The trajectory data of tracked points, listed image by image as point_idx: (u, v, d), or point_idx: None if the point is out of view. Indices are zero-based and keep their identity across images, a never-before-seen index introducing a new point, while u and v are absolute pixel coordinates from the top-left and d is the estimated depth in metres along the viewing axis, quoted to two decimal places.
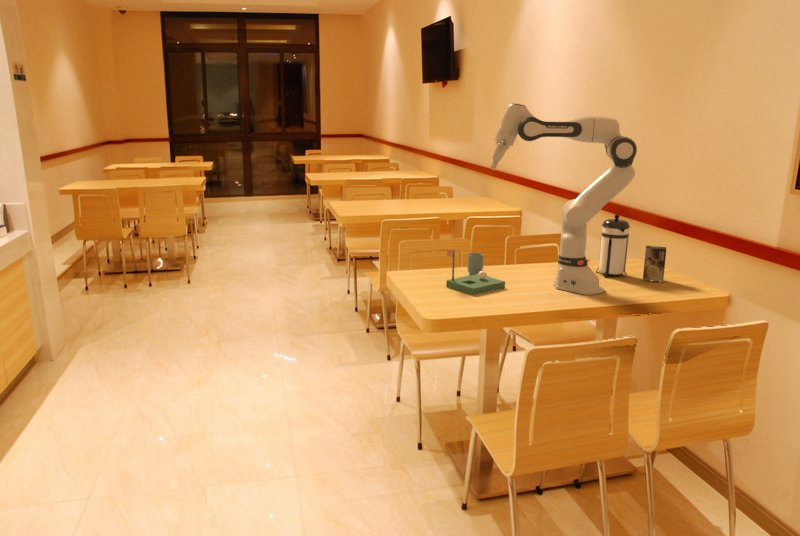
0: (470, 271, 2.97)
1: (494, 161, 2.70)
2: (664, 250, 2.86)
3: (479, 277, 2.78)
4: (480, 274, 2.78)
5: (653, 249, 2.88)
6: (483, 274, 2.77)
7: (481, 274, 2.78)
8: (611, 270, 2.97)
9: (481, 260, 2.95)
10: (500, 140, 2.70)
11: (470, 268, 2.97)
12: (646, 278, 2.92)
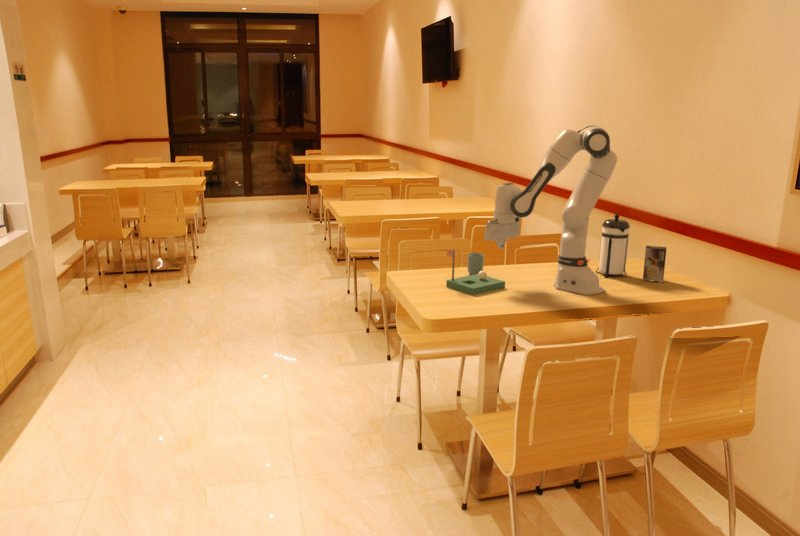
0: (470, 271, 2.97)
1: (497, 240, 2.82)
2: (664, 250, 2.86)
3: (479, 277, 2.78)
4: (480, 274, 2.78)
5: (653, 249, 2.88)
6: (483, 274, 2.77)
7: (481, 274, 2.78)
8: (611, 270, 2.97)
9: (481, 260, 2.95)
10: None
11: (470, 268, 2.97)
12: (646, 278, 2.92)
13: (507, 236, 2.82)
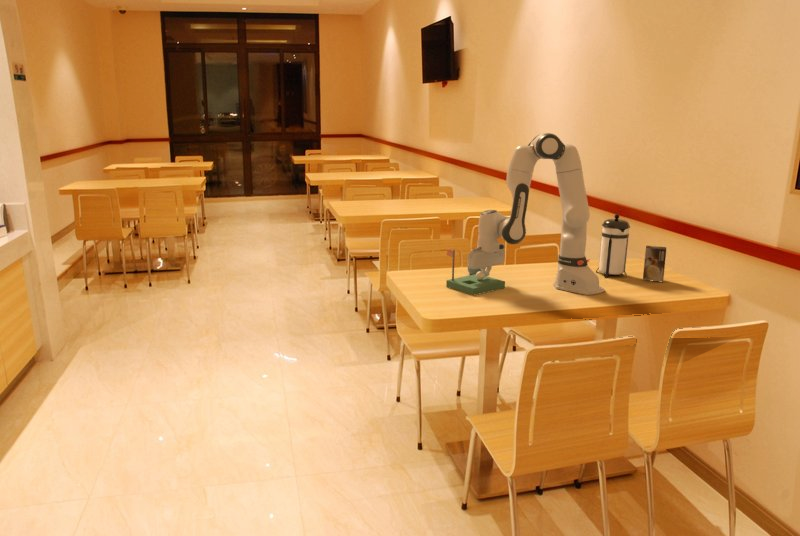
0: (470, 271, 2.97)
1: (481, 268, 2.79)
2: (664, 250, 2.86)
3: (478, 279, 2.78)
4: (478, 277, 2.77)
5: (653, 249, 2.88)
6: (480, 276, 2.77)
7: (479, 277, 2.77)
8: (611, 270, 2.97)
9: None
10: None
11: (470, 268, 2.97)
12: (646, 278, 2.92)
13: (492, 264, 2.80)
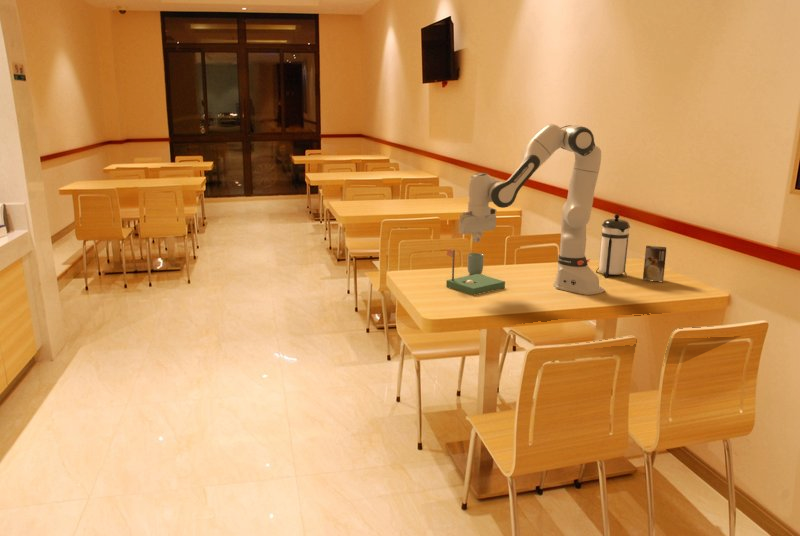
0: (470, 271, 2.97)
1: (472, 233, 2.71)
2: (664, 250, 2.86)
3: (469, 280, 2.75)
4: None
5: (653, 249, 2.88)
6: (473, 283, 2.75)
7: (472, 281, 2.75)
8: (611, 270, 2.97)
9: (481, 260, 2.95)
10: None
11: (470, 268, 2.97)
12: (646, 278, 2.92)
13: (483, 229, 2.71)
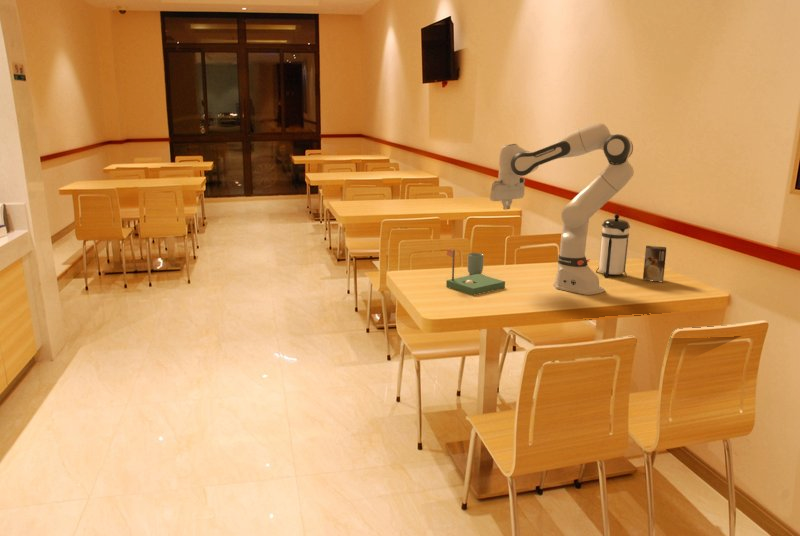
0: (470, 271, 2.97)
1: (502, 201, 2.87)
2: (664, 250, 2.86)
3: (468, 280, 2.74)
4: (471, 280, 2.75)
5: (653, 249, 2.88)
6: None
7: (472, 281, 2.75)
8: (611, 270, 2.97)
9: (481, 260, 2.95)
10: None
11: (470, 268, 2.97)
12: (646, 278, 2.92)
13: (512, 197, 2.88)
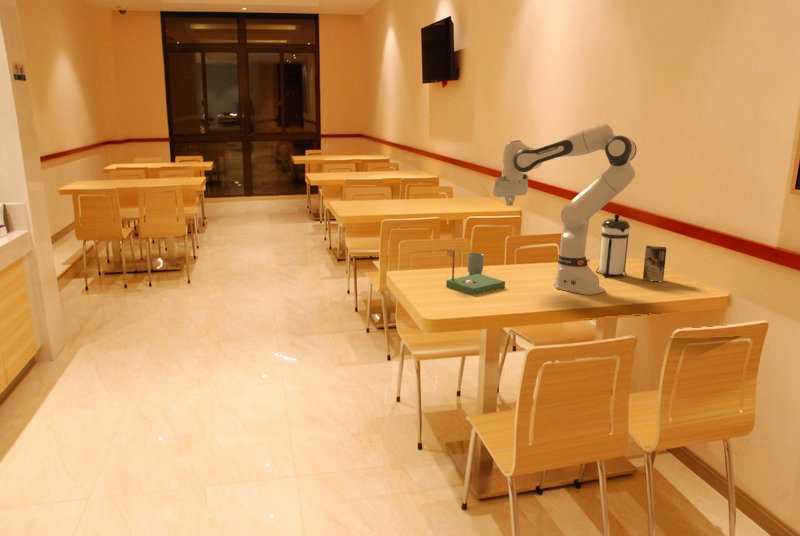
0: (470, 271, 2.97)
1: (505, 197, 2.89)
2: (664, 250, 2.86)
3: (467, 281, 2.74)
4: (470, 280, 2.75)
5: (653, 249, 2.88)
6: (472, 282, 2.74)
7: (471, 281, 2.74)
8: (611, 270, 2.97)
9: (481, 260, 2.95)
10: None
11: (470, 268, 2.97)
12: (646, 278, 2.92)
13: (515, 193, 2.89)
